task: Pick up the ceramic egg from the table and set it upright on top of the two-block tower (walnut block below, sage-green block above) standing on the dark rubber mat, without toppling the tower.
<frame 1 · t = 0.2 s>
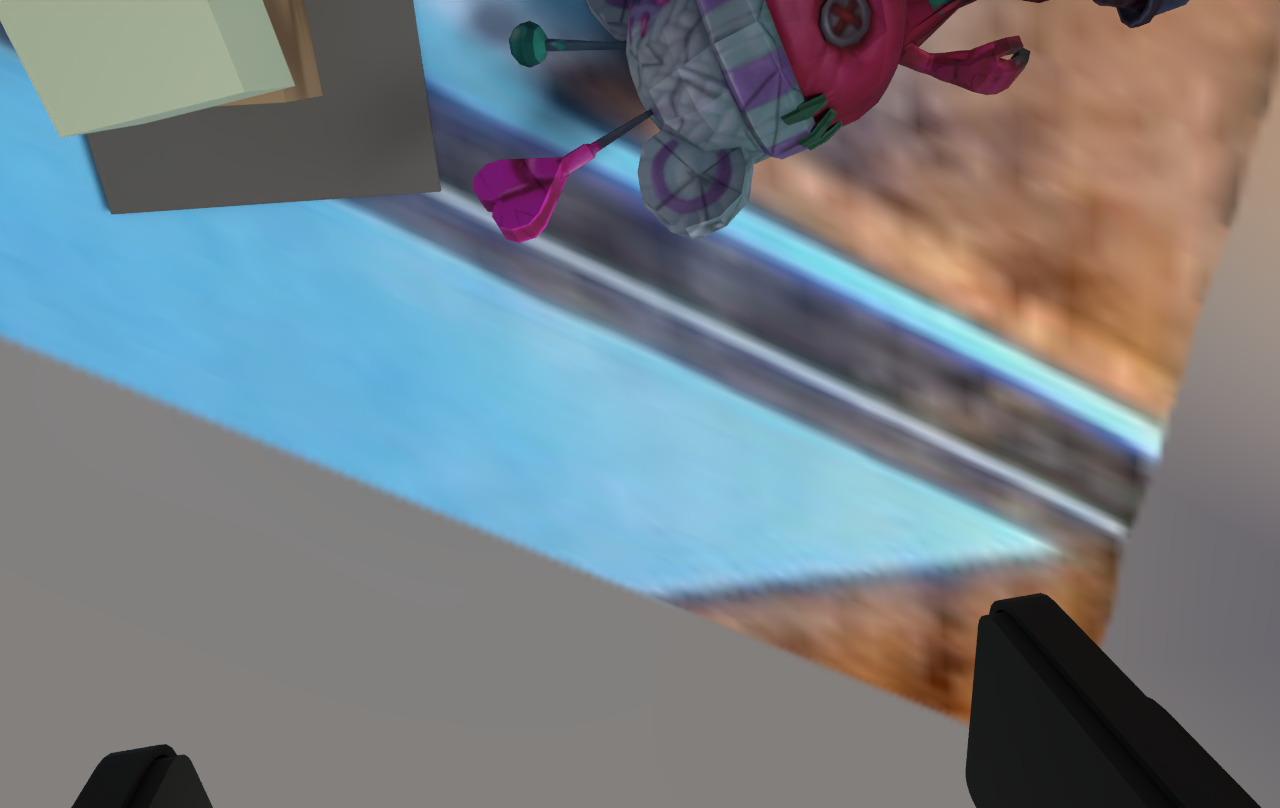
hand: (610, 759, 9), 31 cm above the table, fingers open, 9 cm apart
block top: (184, 21, 27), point 6 cm above the table, touching block bottom
mat: (241, 27, 32), on the table
block bottom: (238, 26, 32), resting on mat, touching block top
toy: (785, 0, 35), on the table
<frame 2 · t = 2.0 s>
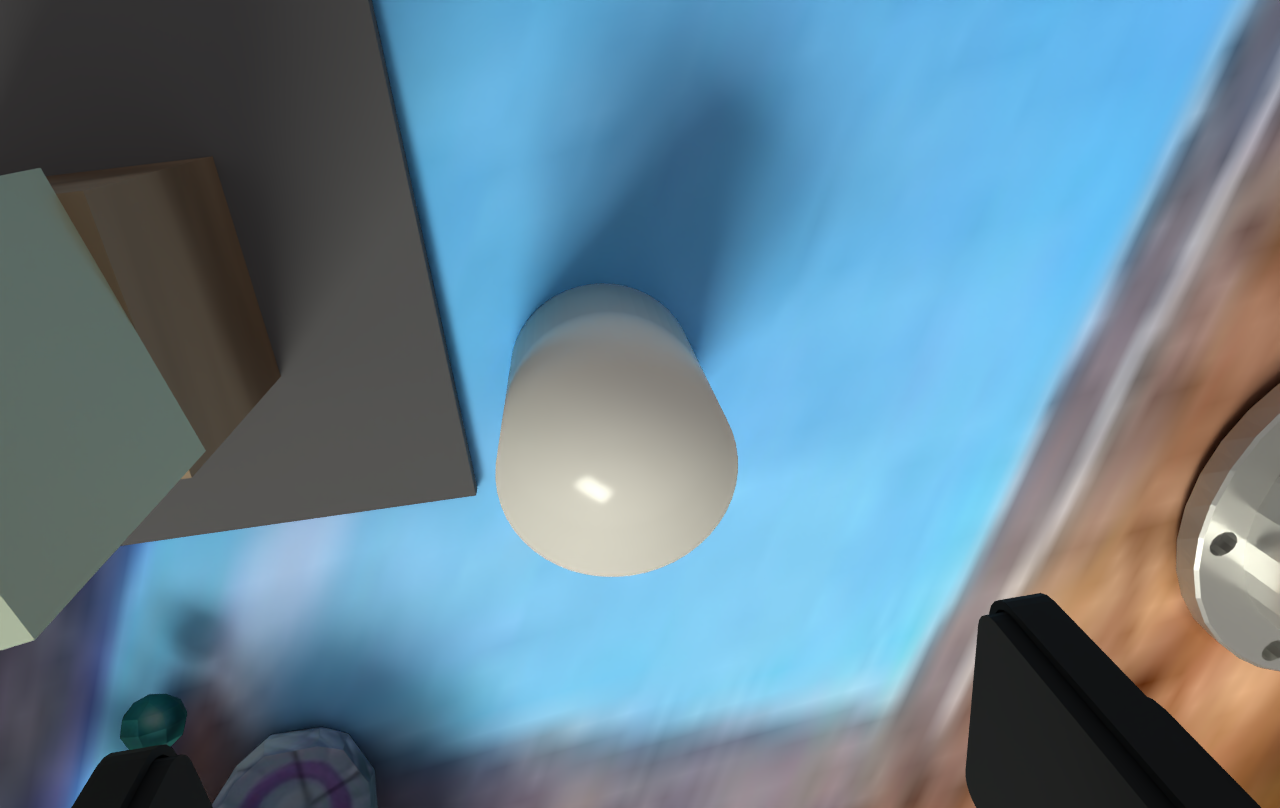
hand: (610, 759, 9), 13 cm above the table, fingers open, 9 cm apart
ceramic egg: (602, 372, 22), on the table
mat: (141, 283, 20), on the table
block bottom: (133, 287, 19), resting on mat, touching block top
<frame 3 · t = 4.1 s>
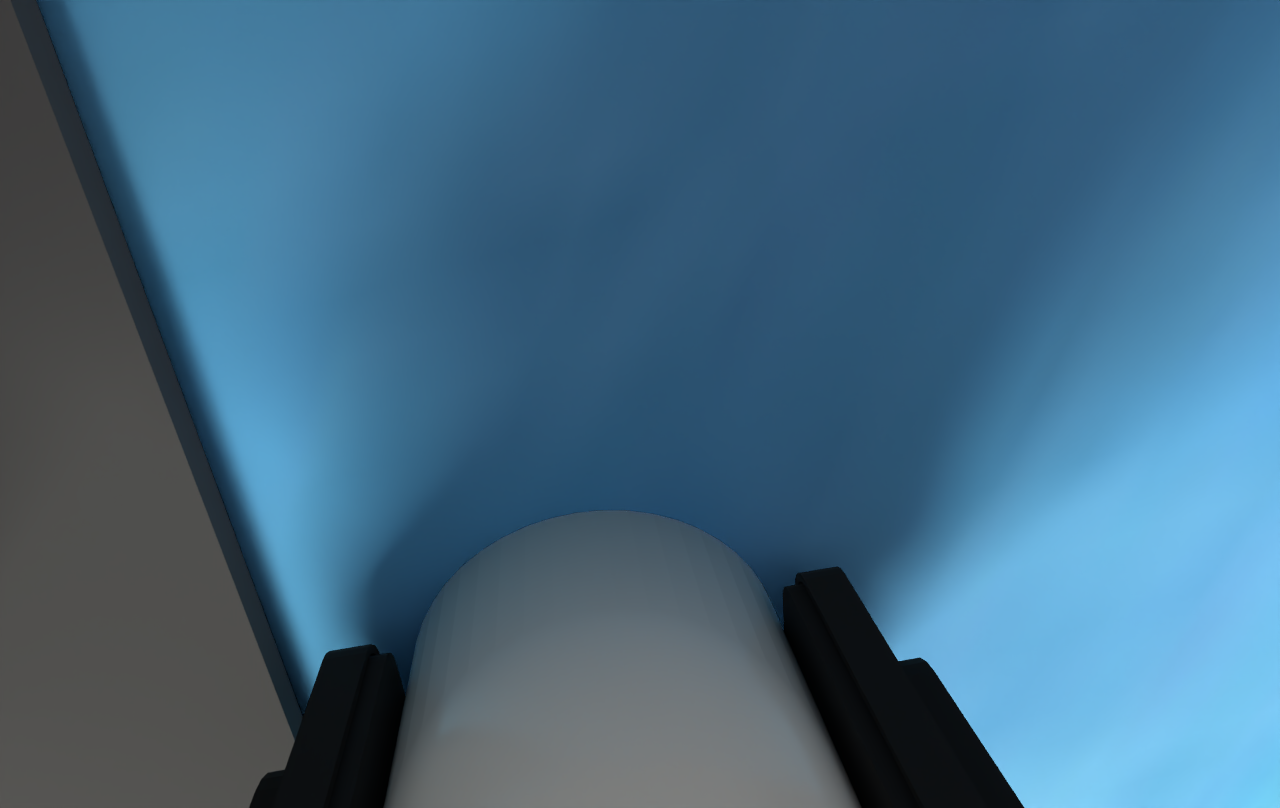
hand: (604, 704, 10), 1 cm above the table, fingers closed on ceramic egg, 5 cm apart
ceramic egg: (600, 667, 11), on the table, touching gripper
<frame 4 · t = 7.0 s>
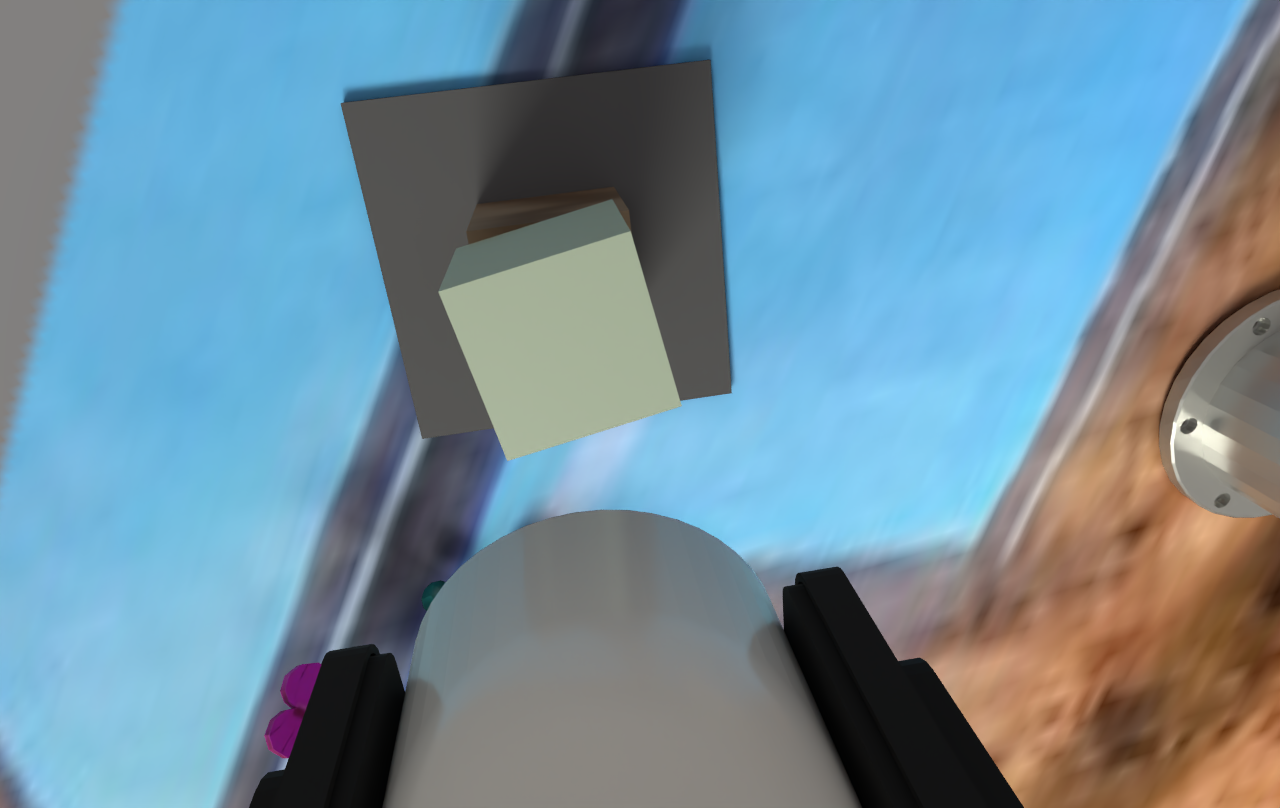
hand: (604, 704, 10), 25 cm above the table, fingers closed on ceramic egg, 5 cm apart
block top: (560, 299, 28), point 6 cm above the table, touching block bottom
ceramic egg: (600, 668, 11), point 24 cm above the table, touching gripper
mat: (555, 260, 33), on the table
block bottom: (555, 262, 33), resting on mat, touching block top
toy: (590, 700, 43), on the table
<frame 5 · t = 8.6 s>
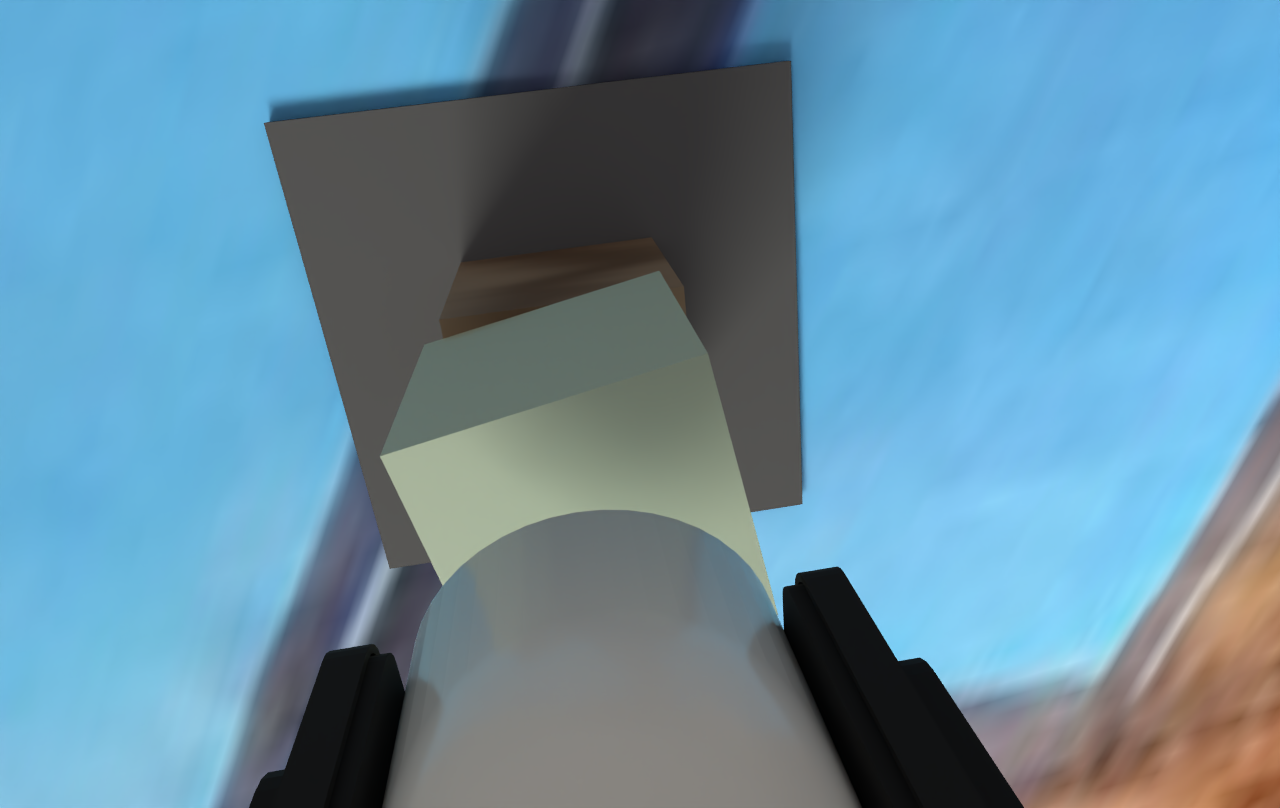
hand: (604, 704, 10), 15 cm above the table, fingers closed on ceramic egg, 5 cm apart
block top: (579, 414, 19), point 6 cm above the table, touching block bottom
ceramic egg: (600, 667, 11), point 15 cm above the table, touching gripper
mat: (569, 335, 24), on the table
block bottom: (570, 340, 24), resting on mat, touching block top
when the fingers open (14 cm above the table, at t = 9.8 s): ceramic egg drops 2 cm, resting on block top.
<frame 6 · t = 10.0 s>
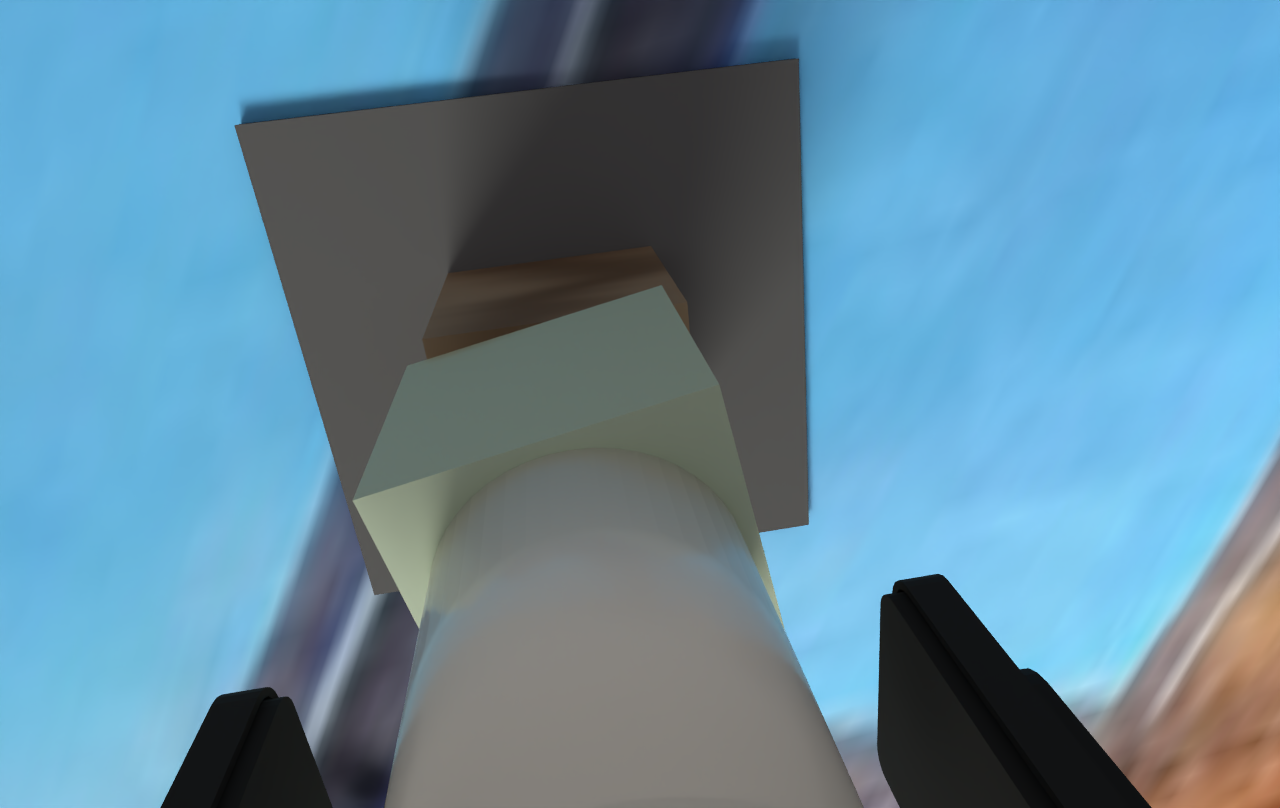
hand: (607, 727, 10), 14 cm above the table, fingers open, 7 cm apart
block top: (575, 438, 17), point 6 cm above the table, touching block bottom, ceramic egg
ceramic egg: (592, 590, 12), point 11 cm above the table, touching block top
mat: (563, 350, 23), on the table
block bottom: (564, 354, 22), resting on mat, touching block top
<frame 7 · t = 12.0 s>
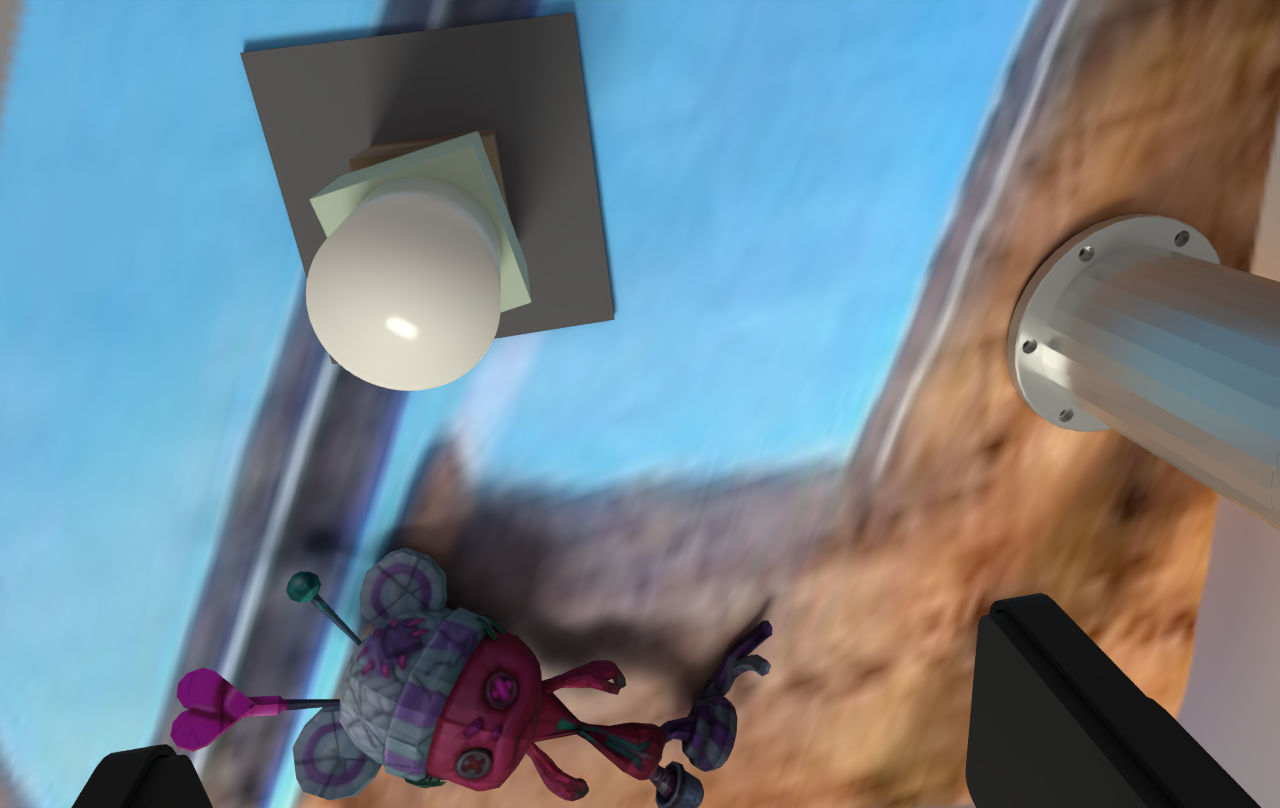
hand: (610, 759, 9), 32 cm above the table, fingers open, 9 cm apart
block top: (437, 221, 32), point 6 cm above the table, touching block bottom, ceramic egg
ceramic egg: (425, 253, 27), point 11 cm above the table, touching block top
mat: (446, 197, 37), on the table
block bottom: (446, 199, 36), resting on mat, touching block top
toy: (496, 635, 48), on the table
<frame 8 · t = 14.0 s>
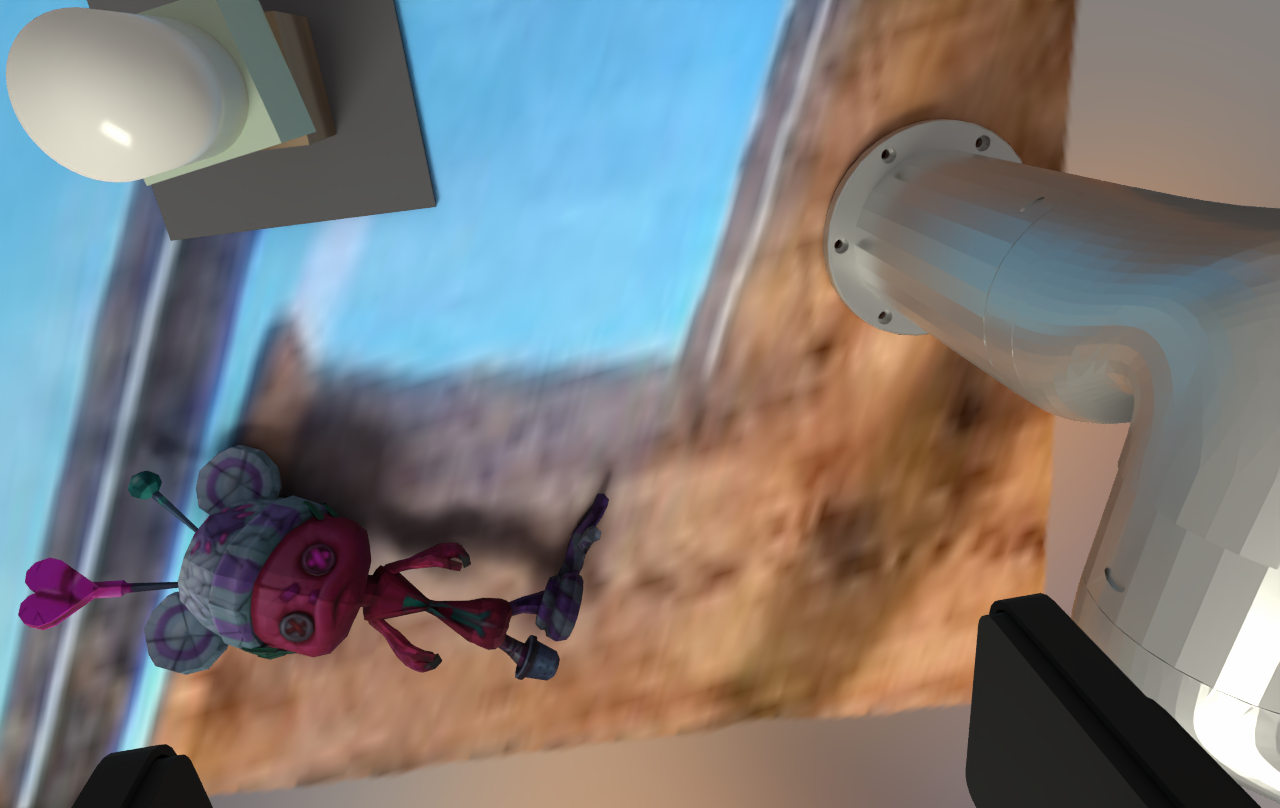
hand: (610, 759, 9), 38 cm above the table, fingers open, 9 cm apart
block top: (228, 87, 35), point 6 cm above the table, touching block bottom, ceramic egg
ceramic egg: (177, 91, 30), point 11 cm above the table, touching block top
mat: (268, 83, 40), on the table
block bottom: (266, 83, 40), resting on mat, touching block top
toy: (349, 527, 51), on the table
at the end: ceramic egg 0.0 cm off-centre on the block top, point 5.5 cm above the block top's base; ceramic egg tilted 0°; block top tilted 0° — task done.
